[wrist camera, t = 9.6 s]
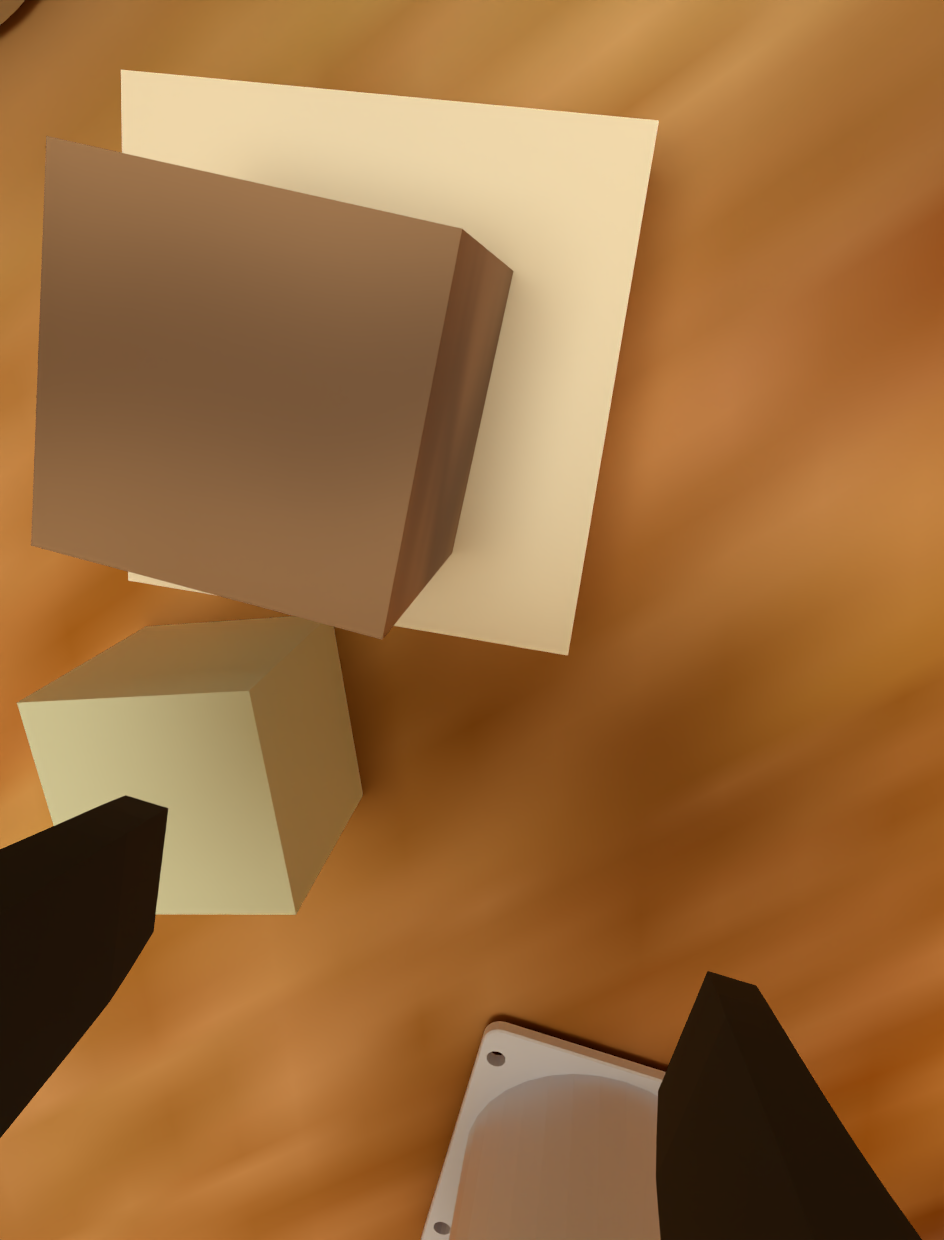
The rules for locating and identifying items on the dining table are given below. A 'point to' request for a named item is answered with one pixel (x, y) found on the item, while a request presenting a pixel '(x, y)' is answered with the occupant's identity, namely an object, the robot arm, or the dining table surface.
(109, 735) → the sage block
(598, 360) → the base block
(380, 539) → the walnut block
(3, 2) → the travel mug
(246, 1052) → the dining table surface
